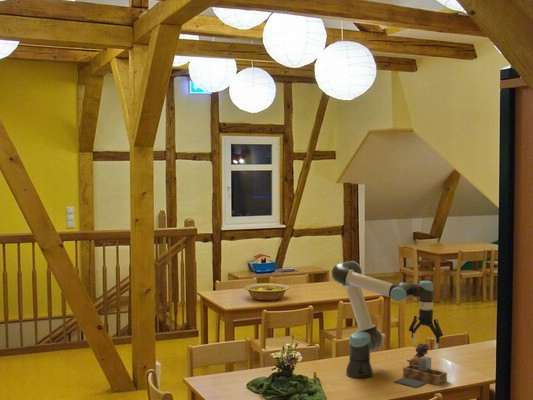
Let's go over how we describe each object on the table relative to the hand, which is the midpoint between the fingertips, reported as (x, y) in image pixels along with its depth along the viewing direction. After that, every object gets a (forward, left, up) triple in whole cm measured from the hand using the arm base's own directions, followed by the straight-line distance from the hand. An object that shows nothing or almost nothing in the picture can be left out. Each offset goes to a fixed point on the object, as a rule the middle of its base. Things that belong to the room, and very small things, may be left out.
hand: (425, 346), depth 383 cm
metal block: (0, 0, -18) cm, 19 cm away
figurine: (-12, +11, -19) cm, 25 cm away
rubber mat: (-2, -12, -18) cm, 22 cm away
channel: (0, 0, -18) cm, 19 cm away
